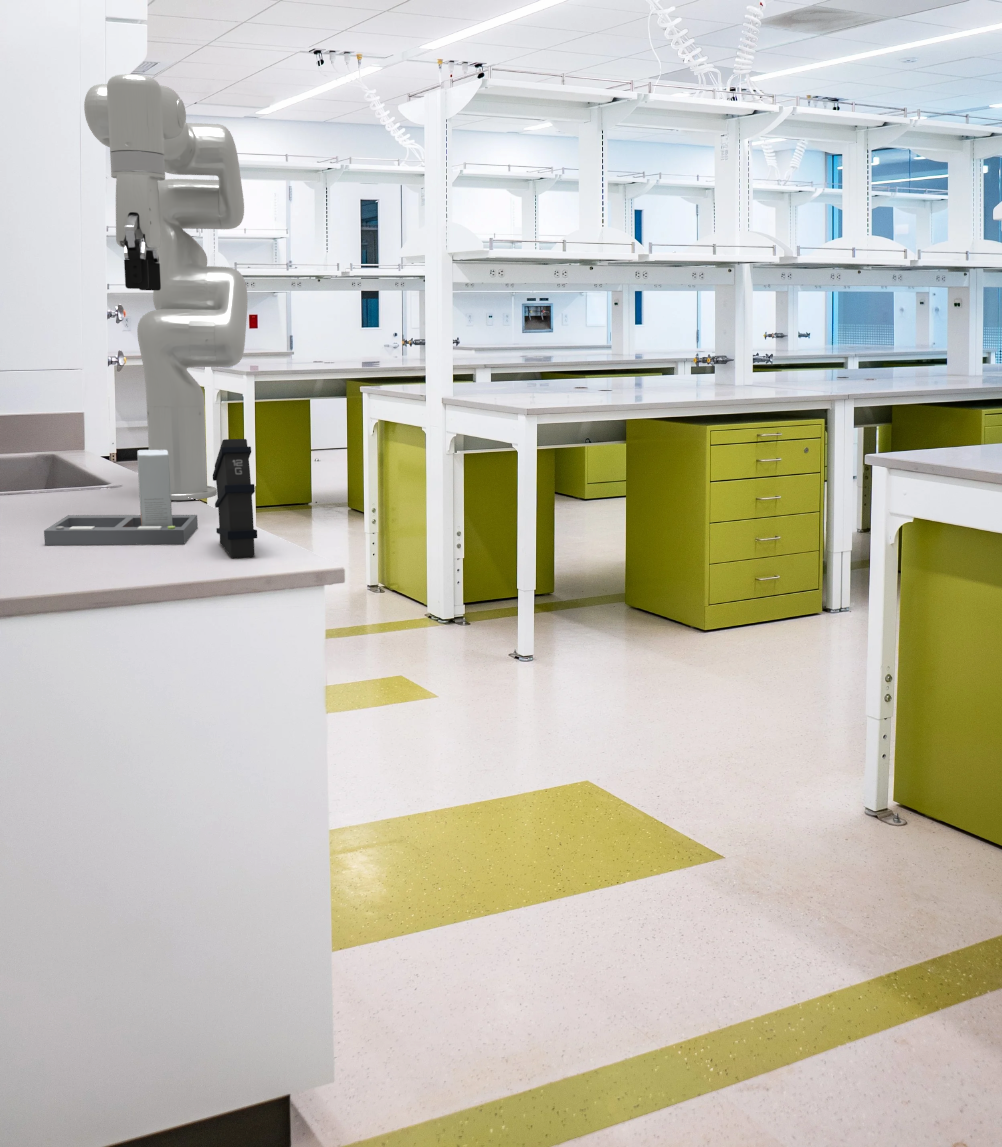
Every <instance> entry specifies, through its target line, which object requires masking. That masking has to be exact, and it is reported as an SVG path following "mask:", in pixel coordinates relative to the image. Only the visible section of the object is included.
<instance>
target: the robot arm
mask: <svg viewBox="0 0 1002 1147" xmlns="http://www.w3.org/2000/svg"><path fill="white" fill-rule="evenodd" d="M83 104H84V105H83V107H84V116H85V121H86V123H87V125H88V128H89V129H90V131H91V133H92V134H93V136H94V137H95V139H96V140H98V141H99V142H100V143H101V144H102V145H104V146H105V147H108V148H109V154H110V155H109V156H110V157H109V158H110V160H109V161H110V176H111V178H113V179H115V242H116V244H117V245H119V247H122V248H123V249H124V253H123V255H124V259H123V261H124V262H123V263H124V264H123V265H124V267H123V268H124V282H125V283H124V284H125V288H126V289H128V290H130V289H131V290H133V289H134V290H139V291H152V294H153V295H152V298H153V299H152V300H153V305H154V308H155V309H153V310H151V311H148V312H147V313H145V314H143V315H142V317H141V318H140V319H139V322H138V324H137V335H136V336H137V341H138V346H139V351H140V356H141V362H142V366H143V367H142V368H143V374H144V383H145V384H144V385H145V399H146V402H145V403H146V419H147V438H148V439H147V441H148V450H167V451H168V455H169V470H170V488H171V501H191V500H194V499H195V500H203V499H208V498H213V497H215V496H217V487H215V486H210V485H208V474H207V473H208V470H207V447H206V446H207V443H206V442H207V441H206V440H207V439H206V423H205V422H206V419H205V418H206V417H205V416H206V415H205V414H206V412H205V397H204V391H203V388H202V387H201V385H200V384H199V382H198V381H197V380H196V379H195V378H194V376H193V375H192V374H191V373H190V372H189V371H188V369H189V368H228V367H233V366H236V365H238V364H239V363H240V362H241V360H242V358H243V356H244V352H245V345H246V333H247V331H246V330H247V318H248V317H247V315H248V288H247V285H246V281H245V278H244V276H243V274H242V273H241V272H240V271H239V270H238V269H235V268H233V267H230V266H216V265H215V266H214V265H213V266H210V265H209V266H208V256H207V253H206V251H205V250H204V248H203V247H202V246H201V245H200V243H199V242H197V240H195V239H194V237H193V236H191V235H190V234H189V233H188V232H186V231H185V230H184V229H189V230H194V229H196V230H232V229H235V228H238V227H239V226H240V225H241V224H242V222H243V220H244V216H245V199H244V191H243V186H242V179H241V170H240V163H239V157H238V152H237V147H236V142H235V139H234V136H233V134H231V131H230V130H229V128H227V127H226V126H225V125H223V124H219V123H197V122H195V123H192V122H187V114H186V113H187V112H186V106H185V103H184V101H183V99H181V97H180V96H179V94H178V93H177V92H176V91H175V90H174V89H173V88H171V87H170V86H169V87H168V86H165V85H160V83H159V82H158V81H157V80H156V79H155V78H152V77H149V76H148V75H147V76H145V75H142V74H141V75H139V74H130V73H129V74H126V73H125V74H116V75H114V76H111V77H110V78H109V79H108V81H107V83H104V84H103V83H101V84H96V85H92V86H91V87H90V88H89V89H88V91H87V92H86V95H85V98H84V103H83ZM166 174H169V175H170V174H171V175H178V176H213V177H215V176H216V177H217V178H218V179H197V178H196V179H195V178H193V179H191V178H167V179H166ZM188 497H189V498H188ZM191 498H193V499H191Z"/></svg>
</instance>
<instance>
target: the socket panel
mask: <svg viewBox="0 0 1002 1147" xmlns="http://www.w3.org/2000/svg"><path fill="white" fill-rule="evenodd" d="M198 519H199V518H198V514H172V525H173V526H168V527H162V526H141V514H68V515H66V516H64V517H62V518H61V519H60V520H58V521H56V522H54V523H53V524H52V525H50V526H49V527H48V528H46V529H44V530H43V535H44V536H43V538H44V546H100V545H101V546H115V545H116V546H122V545H124V546H127V545H128V546H129V545H130V546H133V545H134V546H136V545H137V546H139V545H140V546H143V545H147V546H148V545H150V546H151V545H152V546H155V545H156V546H157V545H158V546H159V545H161V546H162V545H185V544H186V543H187V542H188V541H189V539H190V538H191V537H192V536H193V535H194V533H196V532H197V530H198V529H199V526H198V525H199V524H198V523H199V522H198V521H199V520H198Z"/></svg>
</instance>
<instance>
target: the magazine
mask: <svg viewBox="0 0 1002 1147" xmlns="http://www.w3.org/2000/svg"><path fill="white" fill-rule="evenodd" d="M251 455H252V446H248V439H247V438H232V439H231V438H228V439H227V438H226V439H223V440H222V441H221V444H220V448H219V451H218V454H217V457H216V460H215V463H214V470H213V473H212V481H215V482H216V489H217V495H216V496H217V499H216V500H215V503H214V508H218V523H219V525H218V526H219V527H216V529H215V530H216V534H217V535H219V543H220V545H221V546H222V548H223V550H225V552H226V553H227V554H228V555H229V557H230V558H231V559H245V558H254V557H255V555H256V553H255V551H256V550H255V539H258V530H257V529H254V512H253V511H254V510H253V497H252V496H253V495H254V493H255V487H256V486H255V483H251V482H252V480H251V470H250V469H251V468H250V467H251V466H250V456H251Z"/></svg>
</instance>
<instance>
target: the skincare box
mask: <svg viewBox="0 0 1002 1147" xmlns="http://www.w3.org/2000/svg"><path fill="white" fill-rule="evenodd" d="M136 452H137V454H136V456H137V457H136V458H137V474H138V475H137V478H138V491H139V492H138V493H139V495H138V496H139V510H140V512H139V513H140V515H141V526H162V527H168V526H173V525H172V515H173V513H172V512H173V511H172V510H173V509H172V508H173V507H172V500H171V488H170V470H169V455H168V451H167V450H149V449H139V450H138V449H137V451H136Z"/></svg>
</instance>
